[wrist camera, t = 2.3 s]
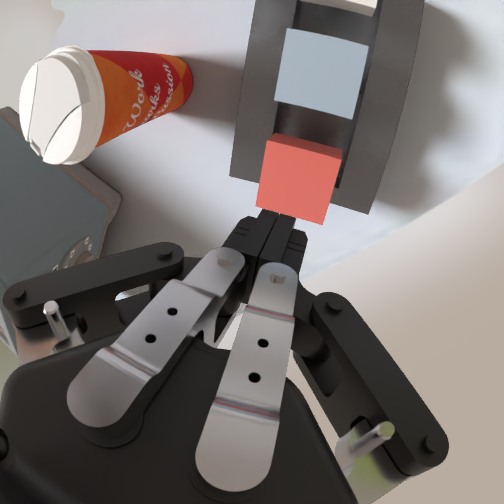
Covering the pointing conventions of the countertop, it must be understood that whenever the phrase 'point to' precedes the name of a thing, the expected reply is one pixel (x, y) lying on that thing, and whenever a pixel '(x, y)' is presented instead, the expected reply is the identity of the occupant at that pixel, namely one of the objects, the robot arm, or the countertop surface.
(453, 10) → the countertop surface
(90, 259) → the toaster
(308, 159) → the red key
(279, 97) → the slate-blue key
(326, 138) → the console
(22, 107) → the coffee cup
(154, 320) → the robot arm
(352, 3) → the white key
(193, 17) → the countertop surface
